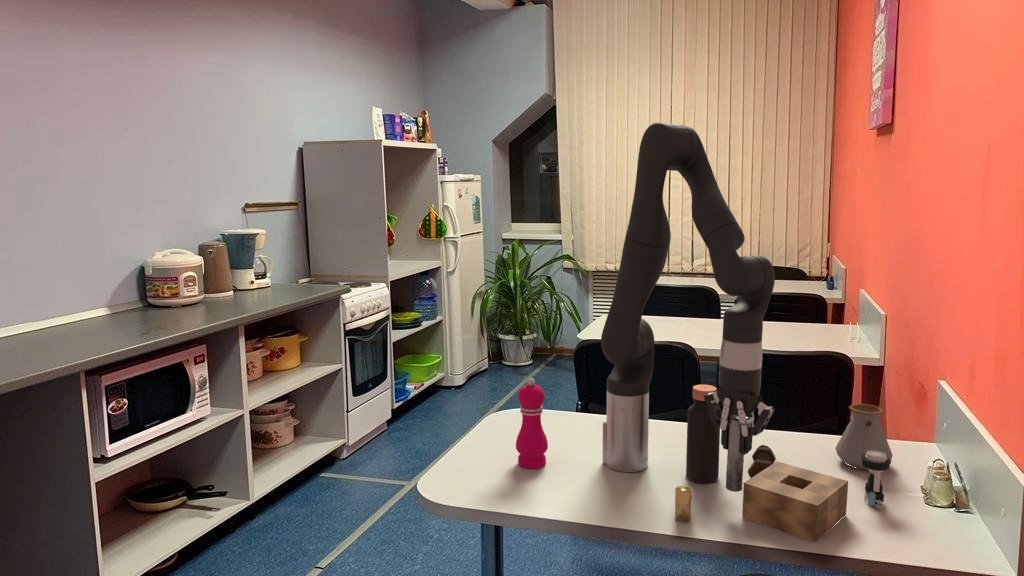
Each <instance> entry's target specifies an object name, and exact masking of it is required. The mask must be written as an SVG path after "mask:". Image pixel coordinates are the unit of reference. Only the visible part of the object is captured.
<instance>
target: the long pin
mask: <svg viewBox="0 0 1024 576" xmlns="http://www.w3.org/2000/svg"><path fill="white" fill-rule="evenodd" d="M741 436H742V429H741V424H740V423H739V417H738V416H736V415H735V416H732V417H730V418H729V435H728V450H727V453H726V454H727V458H726V474H725V475H726V477H725V489H726V490H727V491H730V492H734V493H735V492H736V493H737V492H741V491H742V490H743V479H744V477H743V476H744V461H745V460H744V459H745V455H743V454H740V446H741Z"/></svg>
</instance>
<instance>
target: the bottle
mask: <svg viewBox="0 0 1024 576" xmlns="http://www.w3.org/2000/svg"><path fill="white" fill-rule="evenodd" d="M717 390H718V389H717V387H715V386H714V385H710V384H696V385H693V386H692V400H693V403H692V404H691V405H690V406H689V407H688V408H687V416H686V417H687V418H686V419H687V420H686V421H687V427H686V428H687V429H686V455H685V456H686V461H685V462H686V463H685V477H686V478H687V479H688V480H689V481H690V482H694V483H696V484H704V485H705V484H707V485H709V484H714V483H716V482H718V480H719V474H720V473H719V471H720V470H719V469H720V468H719V467H720V464H719V463H720V444H721V428H720V427H719V426H718V425H714V424H713V423H712V420H711V417H710V414H709V411H708V408H707V405H706V402H705V399H704V396H705V395H707V394H709V393H711V392H714V393H715V392H717Z"/></svg>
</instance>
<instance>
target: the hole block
mask: <svg viewBox="0 0 1024 576" xmlns="http://www.w3.org/2000/svg"><path fill="white" fill-rule="evenodd" d="M848 489H849V480H846V479H842V478H839V477H835V476H832V475H828V474H824V473H821V472H817V471H814V470H810V469H806V468H803V467H799V466H796V465H792V464H788V463H784V462H781V461H779V460H776V461H775V462H774V463H773V464H772V465H771V466H769V467H768V468H766V469H764V470H763V471H761V472H760V473H758V474H757V475H755V476H754V477H752V478H749V479H747V480H746V481H744V482H743V486H742V490H743V491H742V511H741V512H742V516H741V517H742V519H745V520H748V521H751V520H752V521H751V522H753V521H754V523H756V522H758V523H757V524H759V523H760V524H759V525H762V524H763V526H765V525H766V526H765V527H768V526H769V528H771V527H772V529H773V530H777V529H778V530H777V531H781V532H783V533H787V534H789V535H792V536H795V537H797V538H800V537H801V539H803V538H804V539H803V540H806V539H807V540H806V541H809V542H812V543H815V542H816V543H818V541H819V540H821V539H822V538H823V537H824V536H825V535H826V534H827V533H828V532H829V531H831V530H832V529H833V528H834V527H835V526H836V525H837V524H838V523H839V522H838V521H839V520H840V519H841V518H842V517H844V516H845V515H846V516H847V505H848V503H847V502H848V493H849V492H848V491H849V490H848ZM846 516H845V517H846ZM845 517H844V518H845ZM837 522H838V523H837ZM836 523H837V524H836ZM835 524H836V525H835ZM834 525H835V526H834ZM833 526H834V527H833ZM832 527H833V528H832ZM831 528H832V529H831ZM830 529H831V530H830ZM827 531H828V532H827ZM825 533H826V534H825ZM824 534H825V535H824ZM823 535H824V536H823ZM822 536H823V537H822ZM821 537H822V538H821Z"/></svg>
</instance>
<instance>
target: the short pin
mask: <svg viewBox="0 0 1024 576" xmlns="http://www.w3.org/2000/svg"><path fill="white" fill-rule="evenodd" d="M692 494H693V489H692V488H691V487H689V486H687V485H677V486H676V487H675V494H674V495H675V496H674V499H675V500H674V502H675V503H674V520H675V521H676V522H677V523H678V522H679V523H681V524H682V523H683V524H685V523H686V524H687V523H689V522H691V521H692V500H693V498H692V497H693V496H692Z"/></svg>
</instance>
